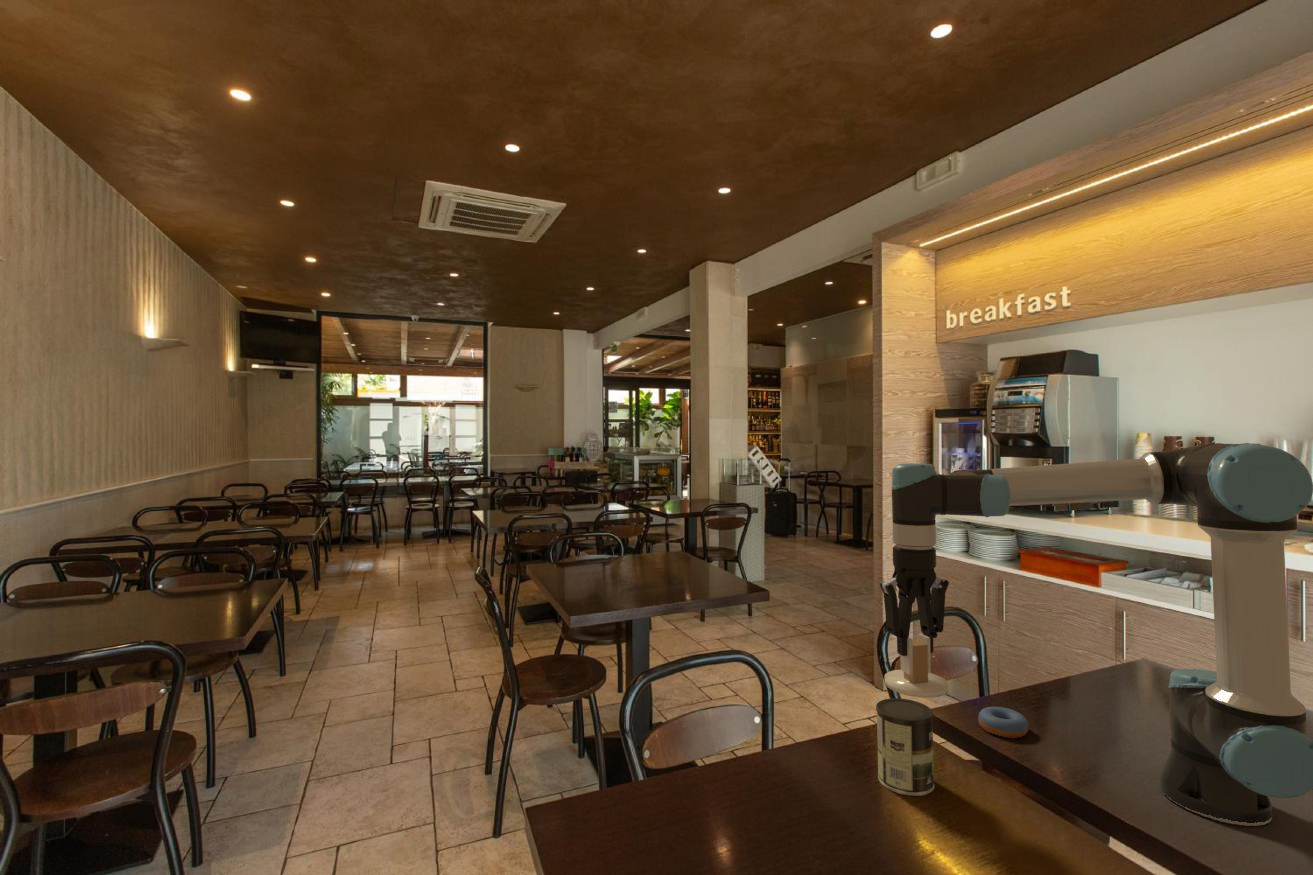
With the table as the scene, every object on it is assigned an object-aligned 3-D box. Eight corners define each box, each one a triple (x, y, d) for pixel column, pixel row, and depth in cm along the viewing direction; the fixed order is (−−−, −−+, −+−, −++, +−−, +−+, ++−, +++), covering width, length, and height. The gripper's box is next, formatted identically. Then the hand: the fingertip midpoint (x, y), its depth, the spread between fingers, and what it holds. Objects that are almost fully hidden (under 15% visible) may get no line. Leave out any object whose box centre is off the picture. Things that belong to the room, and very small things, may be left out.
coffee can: (927, 769, 124) (926, 699, 124) (940, 799, 114) (939, 722, 114) (873, 765, 126) (872, 695, 126) (881, 793, 116) (880, 718, 116)
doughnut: (1040, 735, 137) (1037, 714, 138) (1003, 744, 135) (1000, 722, 135) (1004, 720, 147) (1002, 700, 147) (969, 728, 144) (967, 708, 144)
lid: (922, 672, 123) (921, 631, 123) (962, 693, 112) (961, 649, 112) (872, 677, 120) (872, 636, 120) (908, 700, 110) (908, 655, 110)
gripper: (937, 540, 122) (939, 660, 122) (864, 544, 118) (865, 668, 118) (965, 546, 115) (966, 674, 115) (888, 551, 111) (889, 683, 111)
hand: (915, 670), depth 116 cm, fingers closed on lid, 3 cm apart
